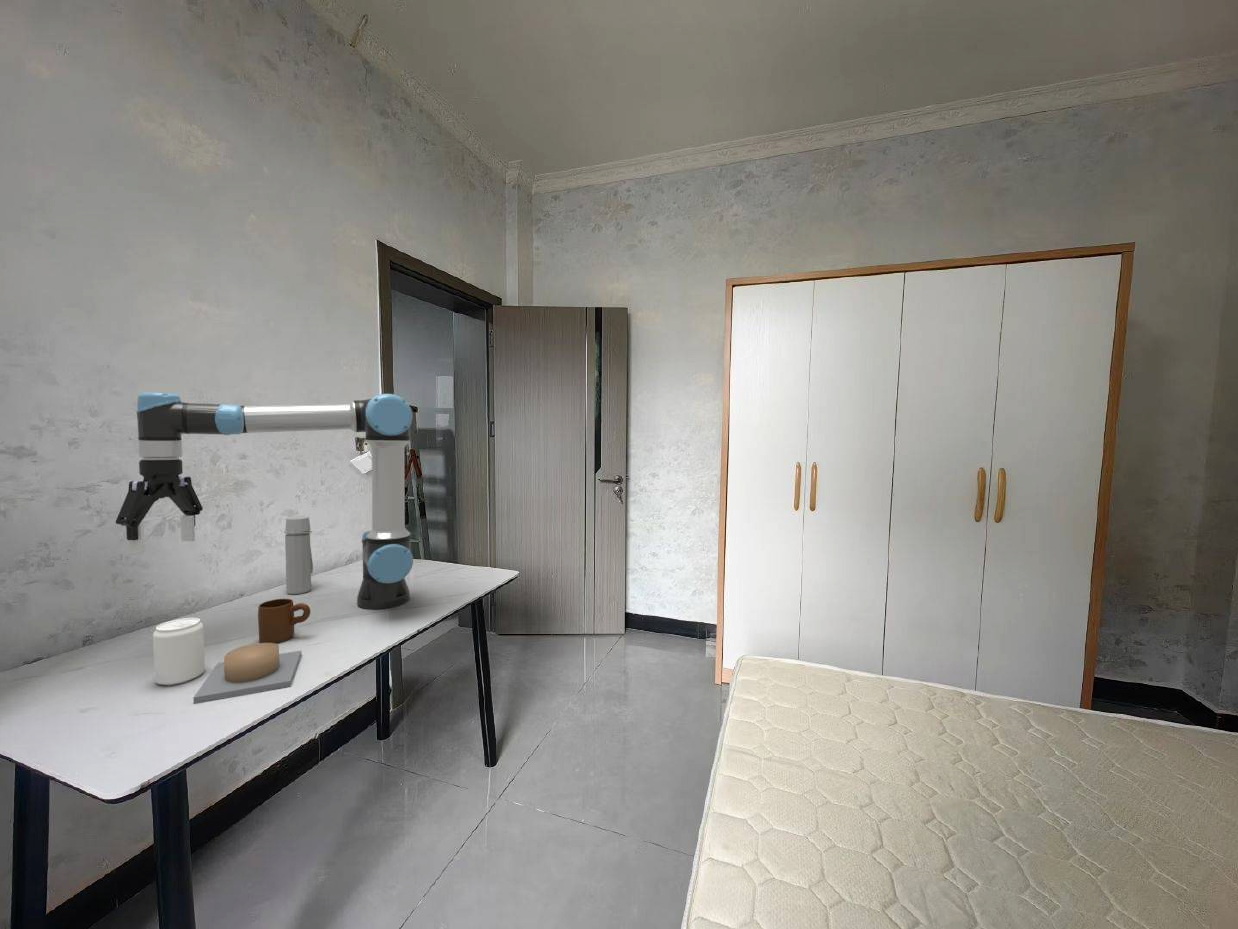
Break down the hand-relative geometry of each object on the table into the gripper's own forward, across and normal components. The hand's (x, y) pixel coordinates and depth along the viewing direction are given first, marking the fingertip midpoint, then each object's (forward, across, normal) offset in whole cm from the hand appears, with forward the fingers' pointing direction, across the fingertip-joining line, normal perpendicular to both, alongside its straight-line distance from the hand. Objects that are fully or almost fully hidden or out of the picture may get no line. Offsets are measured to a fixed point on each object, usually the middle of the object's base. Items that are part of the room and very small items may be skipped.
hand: (164, 547), depth 118 cm
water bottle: (+26, -46, +4) cm, 53 cm away
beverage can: (+26, +13, +14) cm, 32 cm away
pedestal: (+26, +13, +29) cm, 41 cm away
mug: (+26, -8, +23) cm, 36 cm away
